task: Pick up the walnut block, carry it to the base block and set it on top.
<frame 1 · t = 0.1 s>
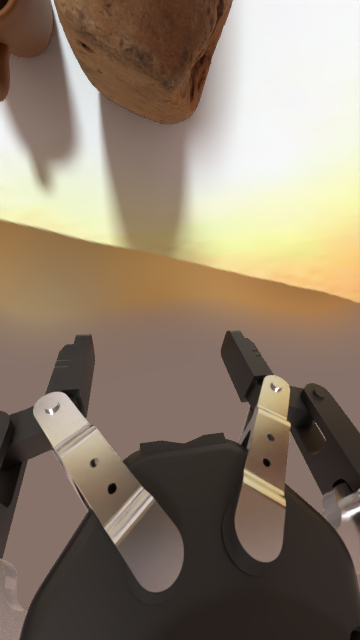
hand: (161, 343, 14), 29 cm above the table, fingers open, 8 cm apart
brown tall piece: (141, 76, 27), on the table
mug: (15, 36, 24), on the table
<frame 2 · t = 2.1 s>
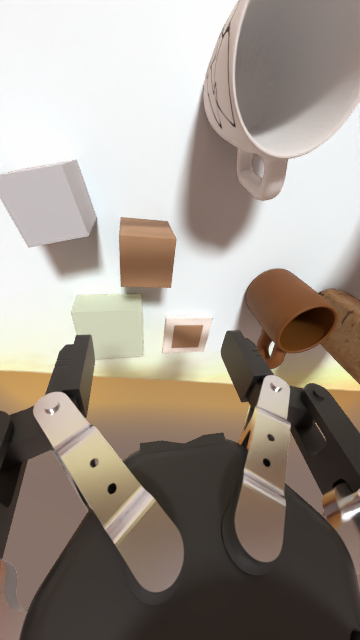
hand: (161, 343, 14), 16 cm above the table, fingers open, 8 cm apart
grey block: (61, 195, 22), on the table
walnut block: (144, 242, 26), on the table
base block: (112, 317, 32), on the table
brown tall piece: (327, 307, 38), on the table
mug 2: (236, 116, 21), on the table
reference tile: (185, 333, 36), on the table
mug: (260, 301, 35), on the table
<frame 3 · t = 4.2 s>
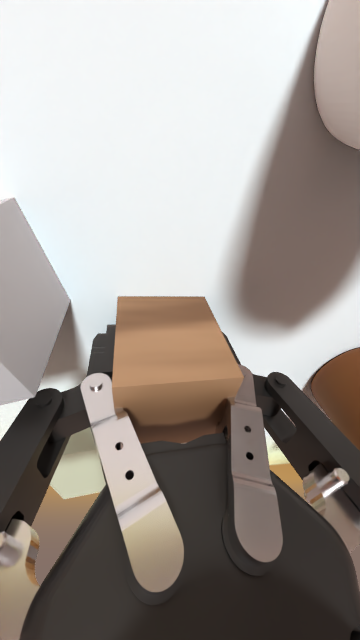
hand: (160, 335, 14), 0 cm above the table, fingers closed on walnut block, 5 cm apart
walnut block: (160, 329, 14), on the table, touching gripper
base block: (107, 422, 20), on the table
mug: (328, 383, 23), on the table
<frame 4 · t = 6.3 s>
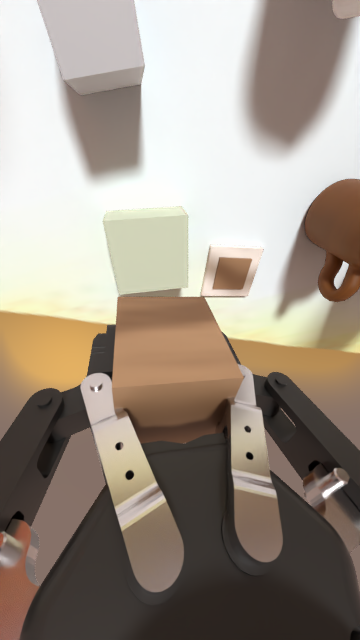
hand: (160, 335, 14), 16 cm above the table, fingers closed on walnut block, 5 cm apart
grey block: (99, 42, 17), on the table
walnut block: (160, 330, 14), point 15 cm above the table, touching gripper
base block: (148, 244, 27), on the table
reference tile: (229, 271, 31), on the table
mug: (319, 230, 29), on the table
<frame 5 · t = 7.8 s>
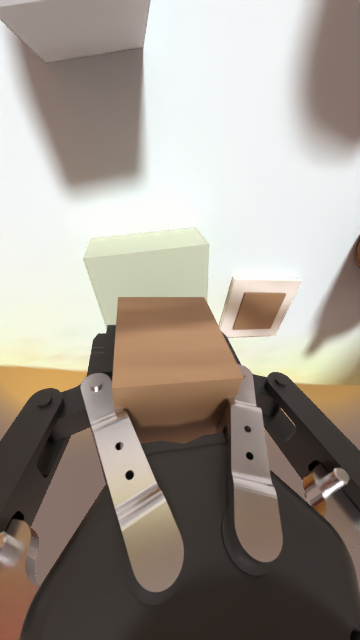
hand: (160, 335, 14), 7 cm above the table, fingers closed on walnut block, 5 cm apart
walnut block: (160, 330, 14), point 7 cm above the table, touching gripper
base block: (151, 278, 20), on the table
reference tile: (255, 307, 24), on the table
when the fingers open (6 cm above the table, at t = 8.6 s): walnut block drops 2 cm, point 4 cm above the table.
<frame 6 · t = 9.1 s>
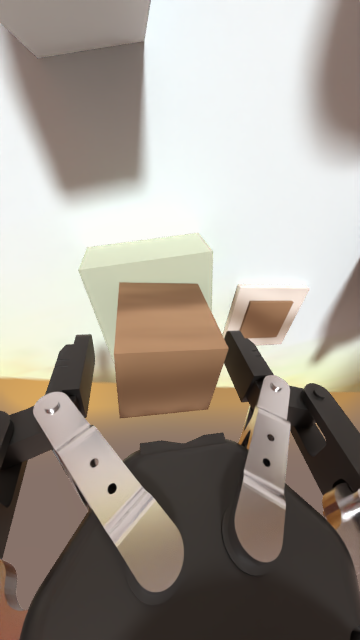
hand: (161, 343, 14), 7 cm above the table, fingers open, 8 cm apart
walnut block: (157, 314, 16), point 4 cm above the table
base block: (151, 286, 19), on the table
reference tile: (260, 315, 23), on the table
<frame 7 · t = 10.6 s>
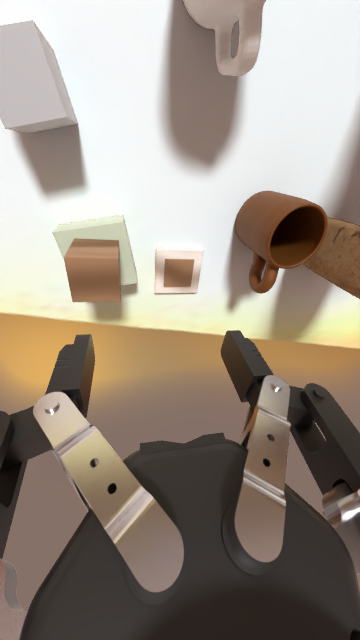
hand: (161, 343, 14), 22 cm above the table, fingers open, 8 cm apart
grey block: (40, 94, 22), on the table
walnut block: (99, 259, 28), point 4 cm above the table
base block: (101, 249, 31), on the table
brown tall piece: (320, 243, 38), on the table
mug 2: (212, 3, 21), on the table
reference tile: (177, 271, 35), on the table
mug: (251, 234, 34), on the table
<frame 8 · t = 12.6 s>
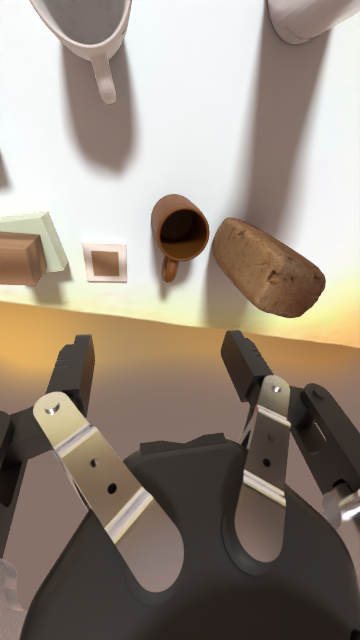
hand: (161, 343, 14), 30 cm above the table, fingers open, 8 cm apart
walnut block: (24, 250, 33), point 4 cm above the table
base block: (33, 240, 37), on the table
brown tall piece: (236, 241, 43), on the table
mug 2: (96, 41, 25), on the table
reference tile: (106, 262, 40), on the table
mug: (169, 231, 39), on the table
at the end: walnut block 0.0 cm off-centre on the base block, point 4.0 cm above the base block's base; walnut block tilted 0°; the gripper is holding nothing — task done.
